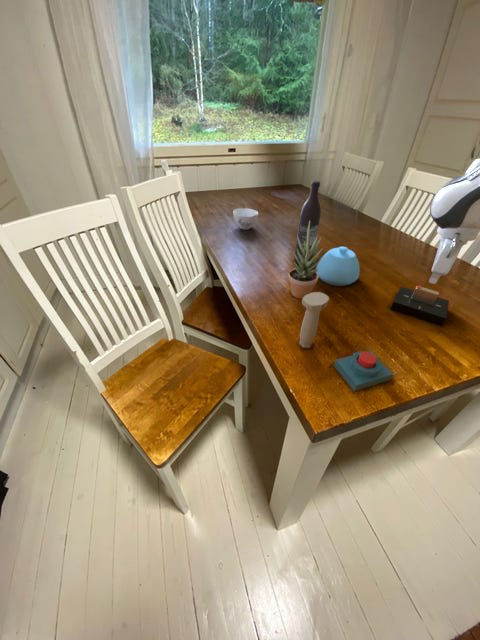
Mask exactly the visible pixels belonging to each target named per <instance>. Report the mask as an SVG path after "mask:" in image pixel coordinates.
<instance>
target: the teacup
mask: <svg viewBox="0 0 480 640" xmlns="http://www.w3.org/2000/svg"><path fill="white" fill-rule="evenodd" d="M232 216H233V221H234V222H235V224H236V226H237V227H238V228H239V229H241V230H251V228H252V227H253V226H254V225H255V224H256V222H257V220H258V217H259V212H258V210H256V209H252V208H241V207H240V208H235V209H234V210H233V211H232Z"/></svg>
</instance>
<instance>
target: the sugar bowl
mask: <svg viewBox="0 0 480 640" xmlns="http://www.w3.org/2000/svg"><path fill="white" fill-rule="evenodd" d="M317 268H318V269H317ZM315 269H317V270H318V271H316V272H317V273H318V276H319V278H318V279H320V280H321V281H322V282H324V283H326V284H327V285H331V286H335V287H345V286H349V285H352V284H353V283H355V282H356V281H357V280H358V279H359V277H360V270H361V268H360V263H359V260H358V257H357V254H356V253H355V252H354V251H352V250H351V249H349V248H348V247H346V246H339V247H334V248H331V249H330V250H328V251H327V252H326V253H325V254H323V256H322V257H321V258H320V262H319V263H318V264H317V265H316V268H315Z"/></svg>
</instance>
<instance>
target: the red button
mask: <svg viewBox="0 0 480 640" xmlns="http://www.w3.org/2000/svg"><path fill="white" fill-rule="evenodd" d="M373 354H374V353H373ZM373 354H371V353H368V352H367V351H362V353H361V354H360V355H359V358H358V363H359V365H360V366H362V367H364V368H372V367H374V365H375V362H376V357H377V356H376V355H375V354H374V355H375V356H376V357H375V356H374V355H373Z"/></svg>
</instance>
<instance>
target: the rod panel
mask: <svg viewBox="0 0 480 640" xmlns="http://www.w3.org/2000/svg"><path fill="white" fill-rule="evenodd" d="M414 291H415V289H411V288H407V287H404V286H400V287H399V289H398V291H397V294H396V295H395V297H394V300H393V302H392V305H391V307H390V311H394V312H397V313H400V314H402V315H405V316H409V317H412V318H414V319H418V320H421V321H424V322H427V323H430V324H433V325H436V326H439V327H442V326H443V324H444V323H445V321H446V319H447V315H448V311H449V310H448V309H449V305H450V304H449V303H450V299H449V300H448V299H446V298H442V297H439V296H437V298H436V300H435V302H434V304H433V305H429V304H425V303H422V302H419V301H416V300H412V299H411V297H412V295H413V293H414Z"/></svg>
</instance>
